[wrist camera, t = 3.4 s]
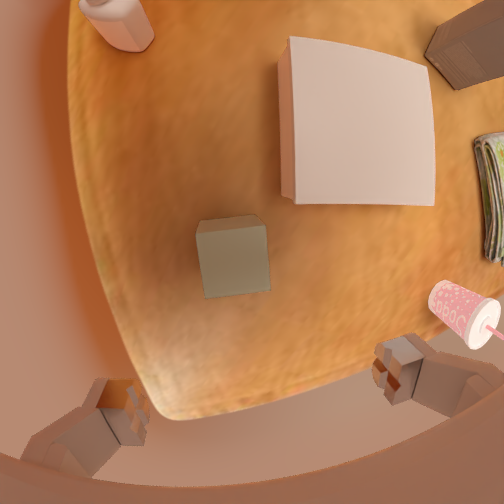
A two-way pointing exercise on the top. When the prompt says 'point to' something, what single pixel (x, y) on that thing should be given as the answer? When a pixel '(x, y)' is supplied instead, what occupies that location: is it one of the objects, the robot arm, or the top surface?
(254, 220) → the green block
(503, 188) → the towel
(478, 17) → the skincare box
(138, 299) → the top surface
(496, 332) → the beverage cup
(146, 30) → the eye dropper bottle
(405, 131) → the storage box
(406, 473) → the robot arm
